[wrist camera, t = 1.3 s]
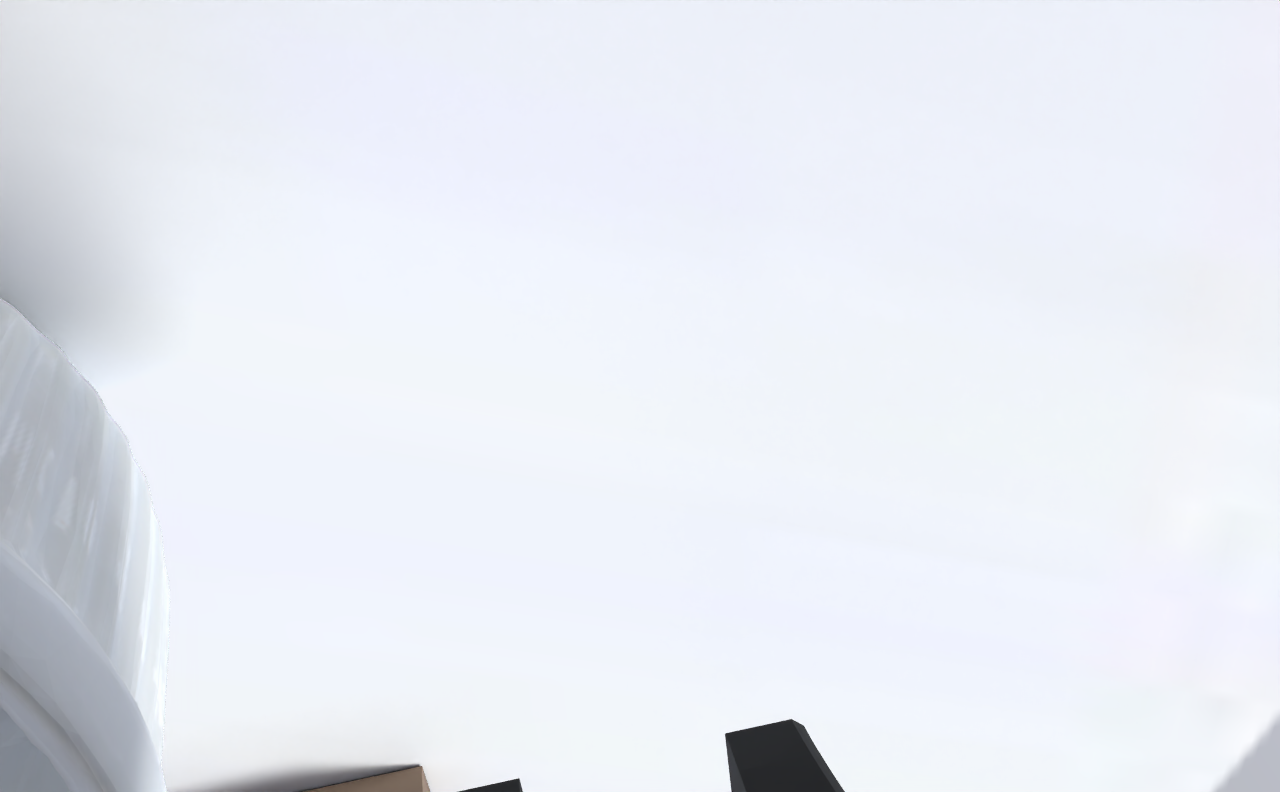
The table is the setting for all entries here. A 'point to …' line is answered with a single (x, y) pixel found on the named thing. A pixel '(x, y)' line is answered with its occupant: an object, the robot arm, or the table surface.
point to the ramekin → (75, 584)
